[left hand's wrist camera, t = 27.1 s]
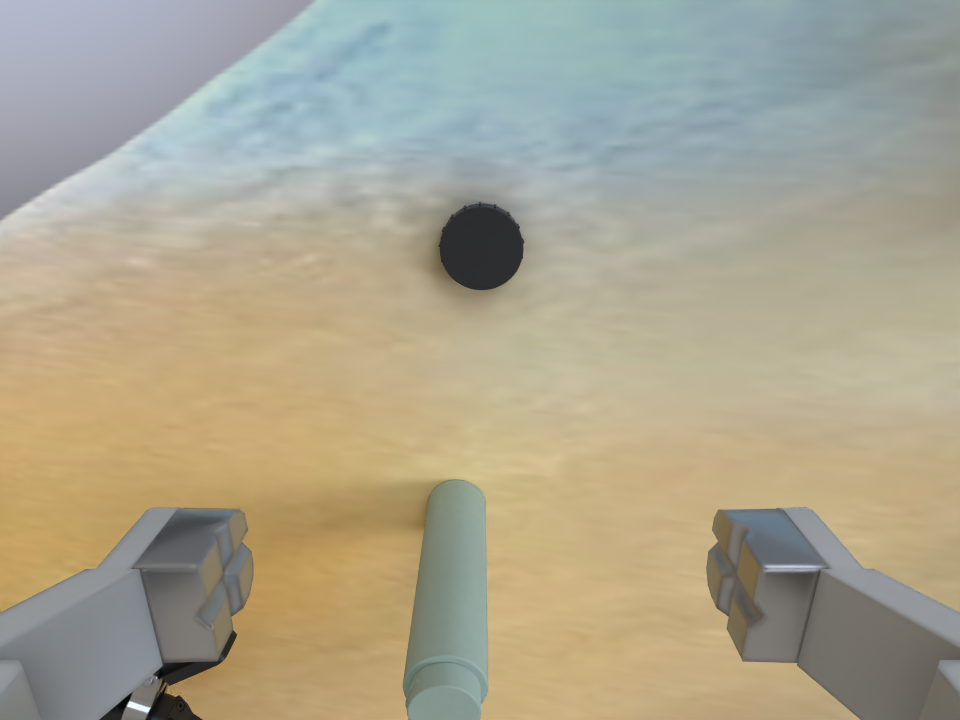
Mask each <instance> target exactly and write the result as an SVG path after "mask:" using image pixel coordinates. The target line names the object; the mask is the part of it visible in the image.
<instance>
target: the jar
mask: <svg viewBox="0 0 960 720" xmlns="http://www.w3.org/2000/svg"><path fill="white" fill-rule="evenodd" d="M403 691H404V694H405V696H406V708H407V715H408V718H409V720H480V716H481V704H482V703H483V701H484V700H485V698H486V696H487V692H488V636H487V561H486V502H485V498H484V495H483V494H482V492H481V491H480V490H479V489H478V488H477V487H476V486H475V485H473V484H472V483H469V482H467V481H463V480H450V481H446V482H444V483H442V484H440V485H438V486H437V487H436V488H435V489H434V490H433V491H432V492H431V494H430V496H429V500H428V506H427V513H426V520H425V528H424V535H423V542H422V549H421V557H420V564H419V571H418V578H417V586H416V593H415V600H414V607H413V615H412V622H411V629H410V636H409V644H408V651H407V658H406V665H405V673H404V680H403Z"/></svg>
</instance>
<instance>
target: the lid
mask: <svg viewBox="0 0 960 720" xmlns="http://www.w3.org/2000/svg"><path fill="white" fill-rule="evenodd" d="M519 228H520V227H519V225H518V224H516V222H515V221H514V219H513V218H512V217H511V216H510V213H509V212H505V211H504V210H503V209H501V208H499V207H497V206H496V205H495V204H494V205H490V204H481V202H479V204H473V205H470V206H467V207H466V206H464V208H462V209H461V210H459V211H458V212H456V213H455V214H454V215H453V214H452V215H451V219H450V220H449V221H448V223H447V224H446V226H445V227H443V230H442V232H443V234H442V238H441V242H440V244H439V247H440V255H441V259H442V260H441V261H442V262H443V265H444V267H445V269H446V271H447V272H448V274H449V275H450V276H451V277H452V278H453V279H454V280H455V281H456V282H458V283H459V284H461V285H463V286H465V287H468V288H471V289H475V290H488V289H493V288H496V287H498V286H500V285H502V284H504V283H505V282H507V281H508V280H509V279H510V278H511V277H512V276H513V275H514V274H515V273H516V271H517V270H518V268H519V266H520V263H521V261H522V259H523V243H524V240H523V238H522V236H521V233H520V230H519Z"/></svg>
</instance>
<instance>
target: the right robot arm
mask: <svg viewBox="0 0 960 720" xmlns="http://www.w3.org/2000/svg"><path fill="white" fill-rule="evenodd" d="M236 636H237V634H236V633H235V632H234V630H232V632H231V634H230V636H229V638H228V640H227V642H226V644H225V646H224V648H223V650H222V652H221V654H220V657H219V659H218V661H211V662H177V663H162V664H163V666H162V667H161V668H160V669H158V670H157V671H156V672H155V673H154V674H153V675H151V676H150V677H149V678H148V679H147V680H146V681H144V682H143V683H142V684H141V685H140V686H138V687H137V688H136V689H135V690H134V691H133V692H131V693H130V694H129V695H128V696H127V697H125V698H124V699H123V700H122V701H121V702H120V703H118V704H117V705H116V706H115V707H114V708H112V709H111V710H110V711H109V712H108V713H107V714H105V715H104V716H103V717H102V718H101V719H99V720H202V719H201V718H199V717H198V716H196V715H195V714H193V713H192V711H191V709H190V707H189V706H188V704H187V703H186V702H185V701H184V700H183V698H182V697H181V696H180V695H179V696H177V697H174V696H172V695H170V694H167V693H166V691H167V688H168V686H170V685H172V684H175V683H177V682H179V681H182V680H184V679H186V678H189V677H191V676H193V675H196V674H198V673H200V672H203V671H205V670H207V669H210V668H212V667H214V666H217V665H218V664H220V663H221V662H222V661H223V660H224V659H225V658H226V657H227V655H228V653H229V651H230V649H231V647H232V645H233V643H234V641H235V639H236Z"/></svg>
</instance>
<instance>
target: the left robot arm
mask: <svg viewBox="0 0 960 720" xmlns="http://www.w3.org/2000/svg"><path fill="white" fill-rule="evenodd" d="M247 531H248V527H247V523H246V518H245V513H243V512H242V511H241V510H240V509H222V508H152V509H149V510H147V511H146V512H145V513H144V514H143V515H142V516H141V518H140V519H139V520H138V521H137V522H136V523H135V524H134V526H133V527H132V528H131V529H130V530H129V531H128V532H127V534H126V535H125V536H124V537H123V538H122V539H121V541H120V542H119V543H118V544H117V545H116V546H115V547H114V549H113V550H112V551H111V552H110V553H109V554H108V556H107V557H106V558H105V559H104V560H103V561H102V562H101V564H100V565H99V566H98V567H97V568H96V569H85V570H83V571H81V572H80V573H78V574H76V575H74V576H72V577H70V578H68V579H66V580H64V581H62V582H60V583H58V584H56V585H54V586H52V587H50V588H48V589H46V590H44V591H42V592H40V593H38V594H36V595H34V596H32V597H30V598H28V599H26V600H24V601H22V602H21V603H19V604H17V605H15V606H13V607H11V608H9V609H7V610H5V611H3V612H1V613H0V720H99V719H101V718H102V717H103V716H104V715H105V714H107V713H108V712H109V711H110V710H111V709H112V708H114V707H115V706H116V705H117V704H118V703H120V702H121V701H122V700H123V699H124V698H125V697H127V696H128V695H129V694H130V693H131V692H133V691H134V690H135V689H136V688H137V687H138V686H140V685H141V684H142V683H143V682H144V681H146V680H147V679H148V678H149V677H150V676H151V675H153V674H154V673H155V672H156V671H157V670H158V669H160V668H161V667H162V666H163V664H162V663H177V662H211V661H218V659H219V657H220V654H221V652H222V650H223V648H224V646H225V644H226V642H227V640H228V638H229V636H230V634H231V632H232V630H233V624H232V618H231V616H233V615H234V614H236V613H237V612H238V611H240V610H241V609H243V608H244V605H245V603H246V601H247V599H248V597H249V594H250V590H251V585H252V581H253V558H252V551H251V550H250V549H249V548H248V547H247V546H246V545H245V544H244V543H243V542H242V540H243V538H244V536H245V534H246V533H247ZM712 531H713V533H714V534H715V536H716V538H717V540H718V542H717V543H716V544H715V545H714V546H713V547H712V548H711V549H710V550H709V551H708V559H707V567H706V569H707V581H708V587H709V590H710V594H711V597H712V599H713V601H714V603H715V605H716V608H717V609H719V610H720V611H722V612H723V613H724V614H726V615H727V616H729V619H728V624H727V630H728V632H729V634H730V636H731V638H732V640H733V642H734V644H735V646H736V648H737V650H738V652H739V654H740V656H741V658H742V660H743V661H747V662H783V663H797V666H798V667H799V668H801V669H802V670H803V671H804V672H805V673H807V674H808V675H809V676H810V677H811V678H812V679H814V680H815V681H816V682H817V683H818V684H819V685H821V686H822V687H823V688H824V689H825V690H827V691H828V692H829V693H830V694H831V695H832V696H834V697H835V698H836V699H837V700H838V701H840V702H841V703H842V704H843V705H844V706H845V707H847V708H848V709H849V710H850V711H851V712H852V713H854V714H855V715H856V716H857V717H858V718H860V719H861V720H960V613H959V612H957V611H955V610H953V609H951V608H949V607H947V606H945V605H943V604H941V603H939V602H937V601H935V600H933V599H931V598H929V597H928V596H926V595H924V594H922V593H920V592H918V591H916V590H914V589H912V588H910V587H908V586H906V585H904V584H902V583H900V582H898V581H896V580H894V579H892V578H890V577H888V576H886V575H884V574H882V573H880V572H879V571H877V570H875V569H864V568H863V567H862V566H861V565H860V564H859V562H858V561H857V560H856V559H855V558H854V557H853V556H852V554H851V553H850V552H849V551H848V550H847V549H846V547H845V546H844V545H843V544H842V543H841V542H840V541H839V539H838V538H837V537H836V536H835V535H834V534H833V533H832V531H831V530H830V529H829V528H828V527H827V526H826V524H825V523H824V522H823V521H822V520H821V519H820V518H819V516H818V515H817V514H816V513H815V512H814V511H813V510H811V509H809V508H807V507H796V508H777V509H728V510H718V511H717V513H716V515H715V517H714V522H713V527H712Z"/></svg>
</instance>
